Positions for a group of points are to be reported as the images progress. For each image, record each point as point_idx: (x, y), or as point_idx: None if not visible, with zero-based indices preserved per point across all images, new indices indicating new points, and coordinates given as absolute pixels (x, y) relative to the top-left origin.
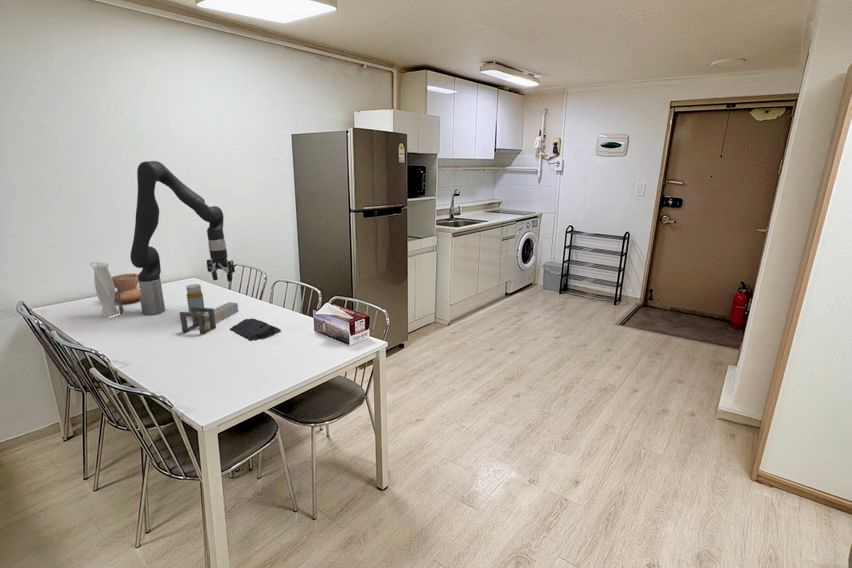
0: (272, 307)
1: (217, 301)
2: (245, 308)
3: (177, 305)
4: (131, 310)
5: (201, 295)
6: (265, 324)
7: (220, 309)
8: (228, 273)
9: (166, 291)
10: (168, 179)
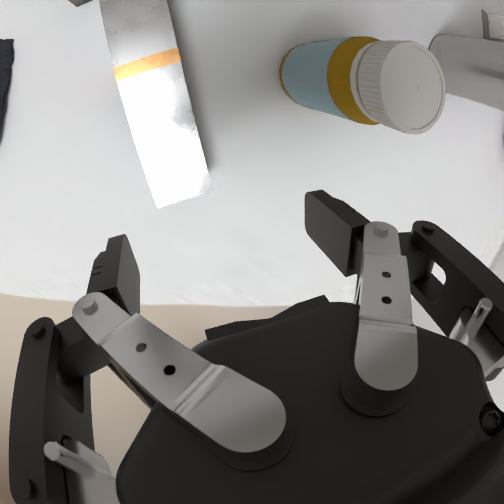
0: None
1: None
2: (174, 236)
3: (434, 138)
4: None
5: (331, 89)
6: None
7: (144, 83)
8: (76, 306)
9: (489, 216)
10: None
